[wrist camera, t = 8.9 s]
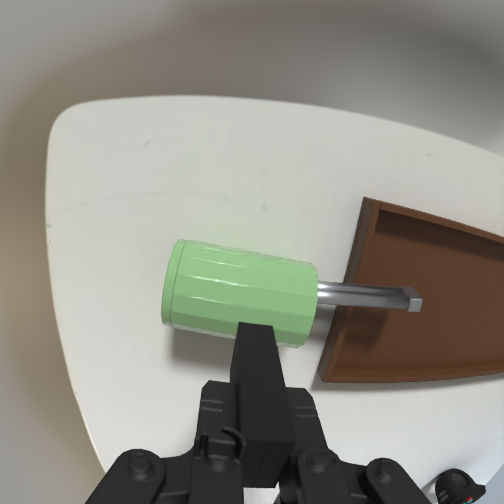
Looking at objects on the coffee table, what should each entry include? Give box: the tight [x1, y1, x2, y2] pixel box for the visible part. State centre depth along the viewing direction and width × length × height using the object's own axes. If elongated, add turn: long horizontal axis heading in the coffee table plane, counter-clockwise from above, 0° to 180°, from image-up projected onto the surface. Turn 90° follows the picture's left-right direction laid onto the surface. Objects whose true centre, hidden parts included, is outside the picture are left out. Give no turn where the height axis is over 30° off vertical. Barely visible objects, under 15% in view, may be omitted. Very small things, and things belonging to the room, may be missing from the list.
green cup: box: [161, 239, 318, 348], centre depth 21 cm, size 6×6×9 cm
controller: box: [435, 469, 486, 504], centre depth 30 cm, size 4×12×10 cm, turn 65°
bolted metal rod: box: [317, 281, 423, 312], centre depth 21 cm, size 2×1×16 cm
